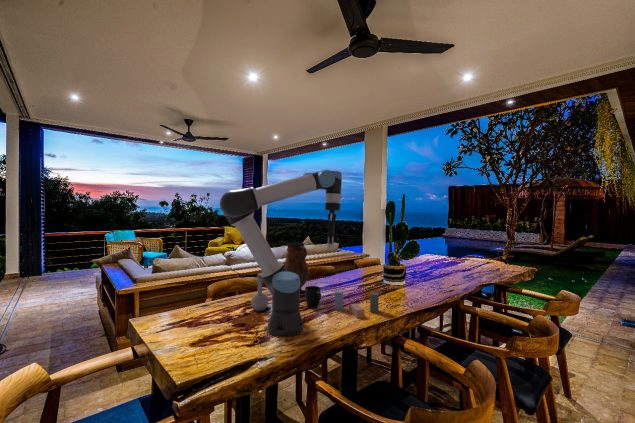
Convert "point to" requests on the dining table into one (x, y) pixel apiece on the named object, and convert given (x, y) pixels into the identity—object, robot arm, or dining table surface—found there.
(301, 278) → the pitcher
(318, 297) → the mug
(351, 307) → the terracotta block
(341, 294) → the slate block
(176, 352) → the dining table surface
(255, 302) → the potion bottle
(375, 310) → the charcoal block
